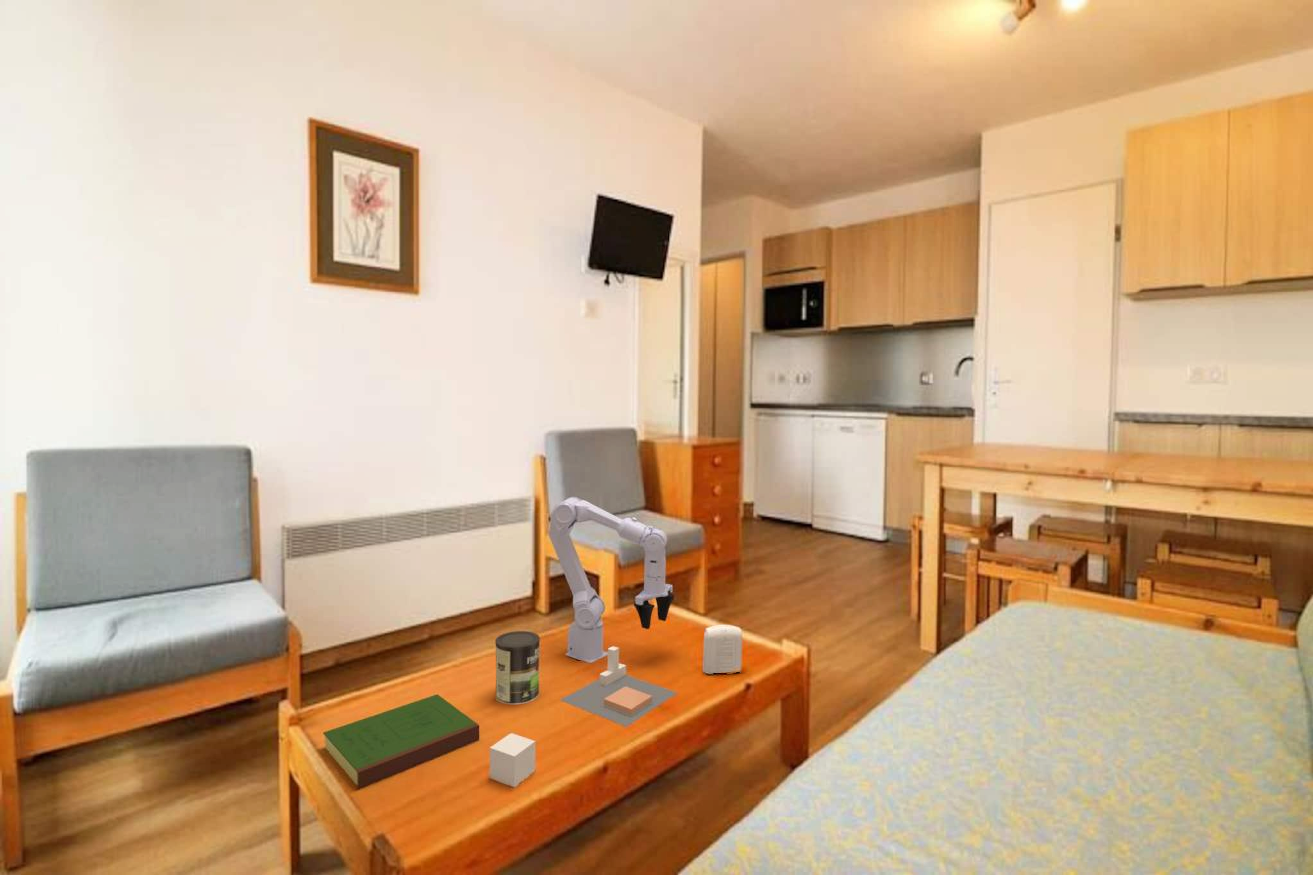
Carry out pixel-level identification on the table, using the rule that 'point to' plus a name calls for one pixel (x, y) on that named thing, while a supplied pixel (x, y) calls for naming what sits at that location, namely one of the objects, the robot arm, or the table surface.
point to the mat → (595, 692)
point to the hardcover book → (399, 739)
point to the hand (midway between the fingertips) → (654, 623)
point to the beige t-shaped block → (612, 668)
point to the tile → (628, 701)
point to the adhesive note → (512, 759)
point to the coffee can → (517, 667)
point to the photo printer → (722, 649)
